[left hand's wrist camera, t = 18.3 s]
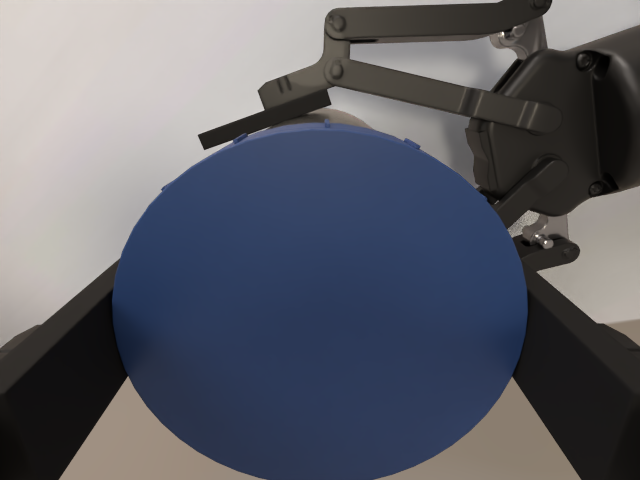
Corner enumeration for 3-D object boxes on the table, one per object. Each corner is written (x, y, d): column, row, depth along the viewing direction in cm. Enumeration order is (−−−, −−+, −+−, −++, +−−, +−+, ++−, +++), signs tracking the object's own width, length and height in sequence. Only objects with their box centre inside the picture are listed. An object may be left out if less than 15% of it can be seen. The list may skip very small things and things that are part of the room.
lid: (353, 481, 15) (357, 531, 13) (82, 340, 13) (46, 379, 11) (575, 268, 12) (618, 299, 10) (266, 28, 9) (255, 15, 8)
